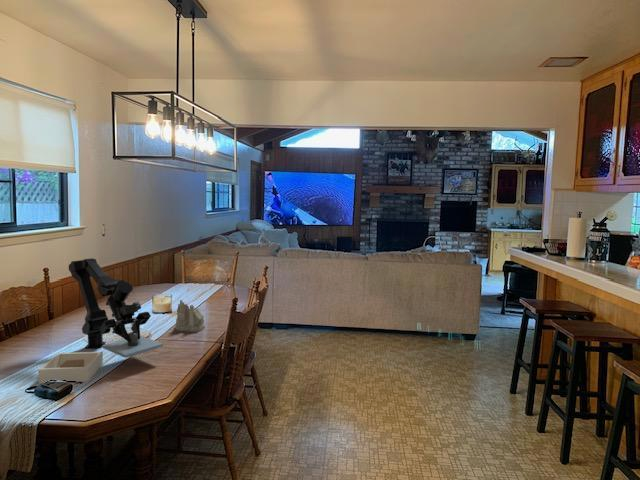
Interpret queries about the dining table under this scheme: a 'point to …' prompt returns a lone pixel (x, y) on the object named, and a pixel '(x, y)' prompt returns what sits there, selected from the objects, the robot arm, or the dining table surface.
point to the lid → (132, 345)
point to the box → (71, 367)
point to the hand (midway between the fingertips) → (134, 340)
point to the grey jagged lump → (189, 318)
